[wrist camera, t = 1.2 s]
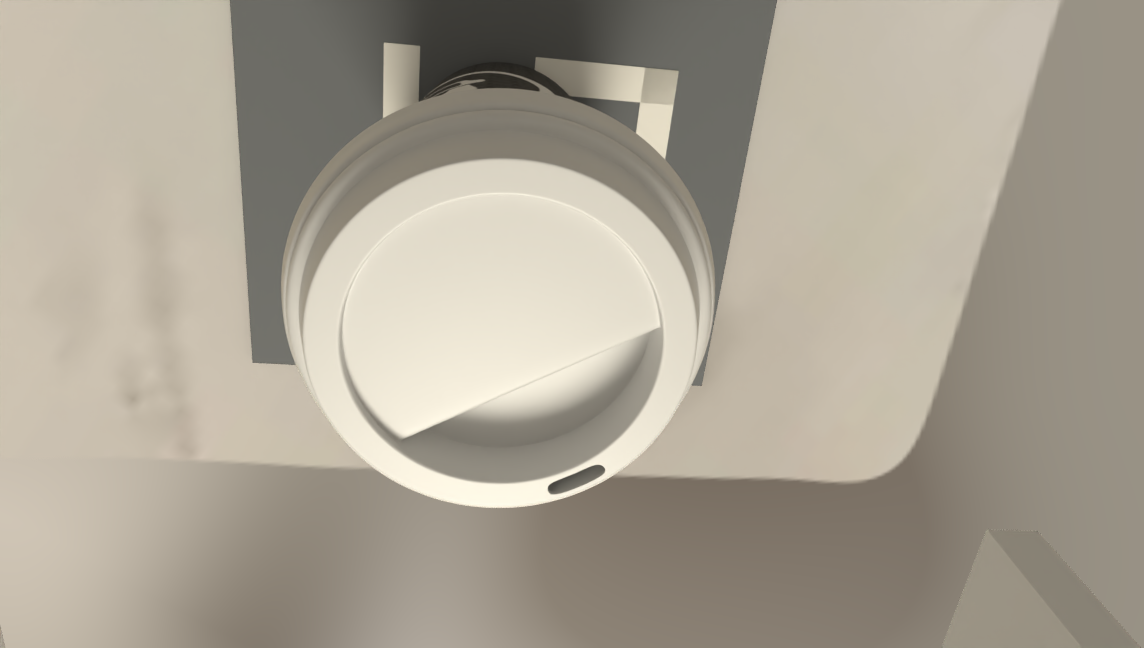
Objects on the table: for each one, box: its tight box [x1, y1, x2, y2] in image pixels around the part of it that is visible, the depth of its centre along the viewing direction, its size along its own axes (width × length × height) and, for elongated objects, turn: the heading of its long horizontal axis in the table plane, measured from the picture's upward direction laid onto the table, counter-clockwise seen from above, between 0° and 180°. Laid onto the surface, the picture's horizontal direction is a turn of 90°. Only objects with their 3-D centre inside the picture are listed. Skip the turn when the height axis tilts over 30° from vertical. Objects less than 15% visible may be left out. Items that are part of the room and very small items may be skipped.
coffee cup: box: [281, 62, 715, 508], centre depth 24 cm, size 10×10×15 cm
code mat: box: [230, 0, 777, 386], centre depth 31 cm, size 18×18×1 cm
